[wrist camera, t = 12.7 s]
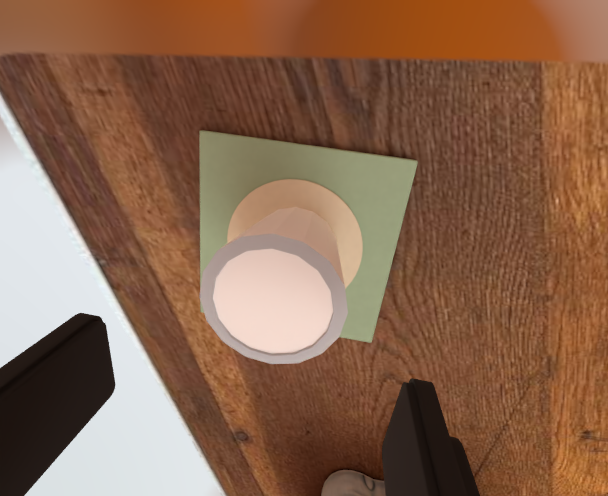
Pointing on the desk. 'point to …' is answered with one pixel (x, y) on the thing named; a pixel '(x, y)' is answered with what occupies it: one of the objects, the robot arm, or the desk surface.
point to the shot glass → (277, 289)
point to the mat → (309, 206)
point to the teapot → (352, 485)
